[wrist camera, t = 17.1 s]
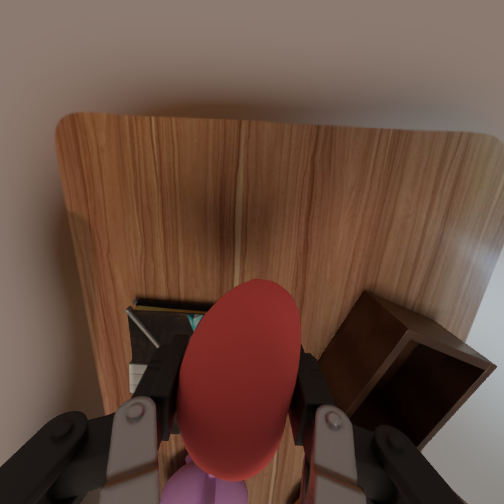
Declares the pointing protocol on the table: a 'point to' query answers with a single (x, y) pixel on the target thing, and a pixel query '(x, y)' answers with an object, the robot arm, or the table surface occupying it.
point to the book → (158, 332)
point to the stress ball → (239, 380)
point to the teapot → (201, 488)
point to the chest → (399, 369)
